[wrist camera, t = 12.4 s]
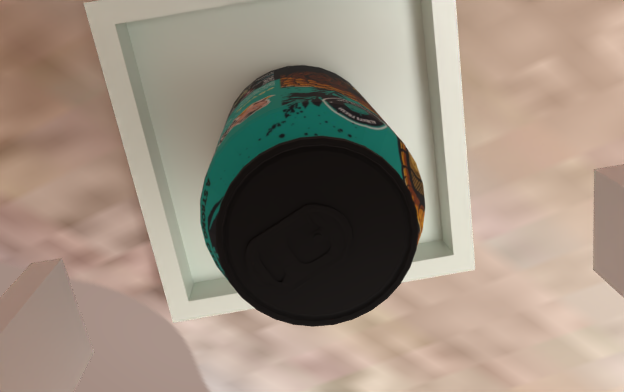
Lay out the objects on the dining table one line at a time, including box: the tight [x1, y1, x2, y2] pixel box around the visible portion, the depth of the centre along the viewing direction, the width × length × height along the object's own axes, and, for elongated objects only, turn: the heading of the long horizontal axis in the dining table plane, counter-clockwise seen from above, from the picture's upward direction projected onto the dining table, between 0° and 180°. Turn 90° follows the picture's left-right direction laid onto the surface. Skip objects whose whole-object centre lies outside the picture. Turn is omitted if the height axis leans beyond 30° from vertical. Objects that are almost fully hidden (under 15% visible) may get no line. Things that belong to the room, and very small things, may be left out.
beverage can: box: [200, 65, 425, 326], centre depth 22 cm, size 7×7×12 cm
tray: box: [83, 0, 475, 323], centre depth 27 cm, size 15×15×2 cm
